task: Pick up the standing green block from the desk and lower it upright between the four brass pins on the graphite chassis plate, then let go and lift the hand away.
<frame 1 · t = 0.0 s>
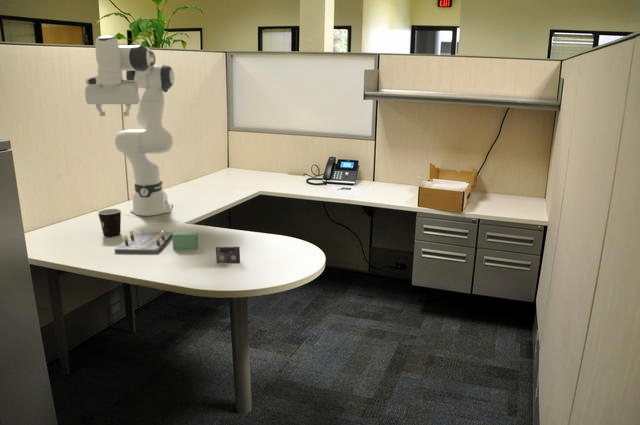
hand: (114, 116, 209), 48 cm above the table, tool pointing down, fingers open, 8 cm apart
green block: (186, 248, 203), on the table
coffee mug: (112, 236, 217), on the table
chassis plate: (145, 244, 207), on the table
mini dv tape: (228, 263, 188), on the table
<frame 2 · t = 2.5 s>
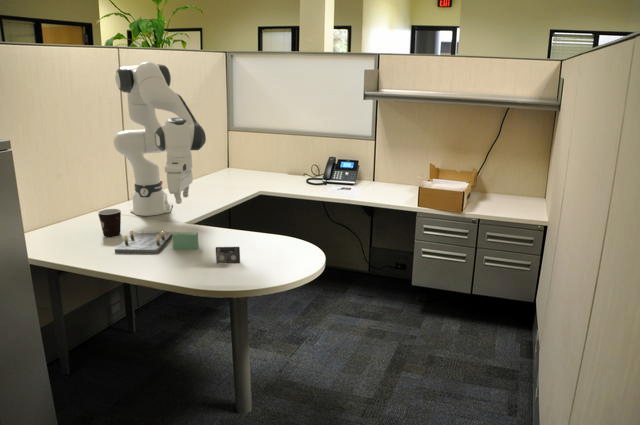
hand: (182, 200, 198), 19 cm above the table, tool pointing down, fingers open, 8 cm apart
nothing on the table moved.
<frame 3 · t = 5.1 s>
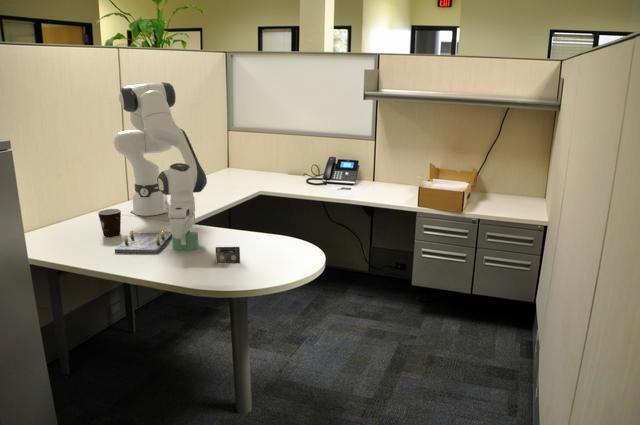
hand: (185, 242, 202), 2 cm above the table, tool pointing down, fingers closed on green block, 3 cm apart
green block: (186, 248, 203), on the table, touching gripper
everything else where it was.
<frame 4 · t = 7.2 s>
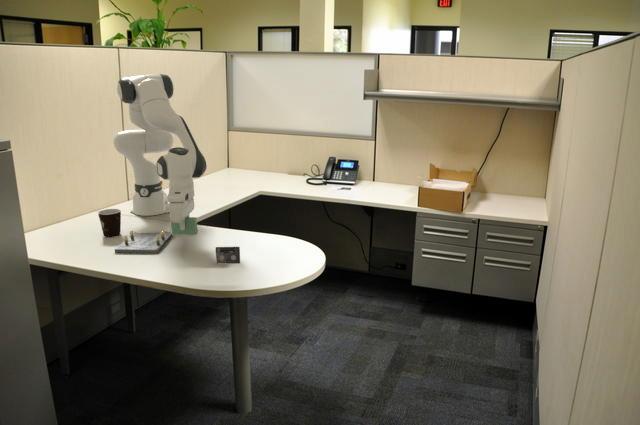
hand: (184, 227, 201), 8 cm above the table, tool pointing down, fingers closed on green block, 3 cm apart
green block: (184, 233, 201), point 6 cm above the table, touching gripper
everything else where it was.
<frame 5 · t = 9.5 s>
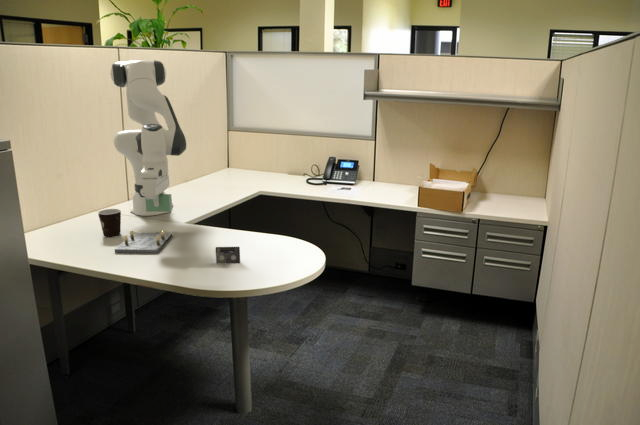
hand: (158, 204, 201), 16 cm above the table, tool pointing down, fingers closed on green block, 3 cm apart
green block: (159, 210, 202), point 14 cm above the table, touching gripper
everything else where it was.
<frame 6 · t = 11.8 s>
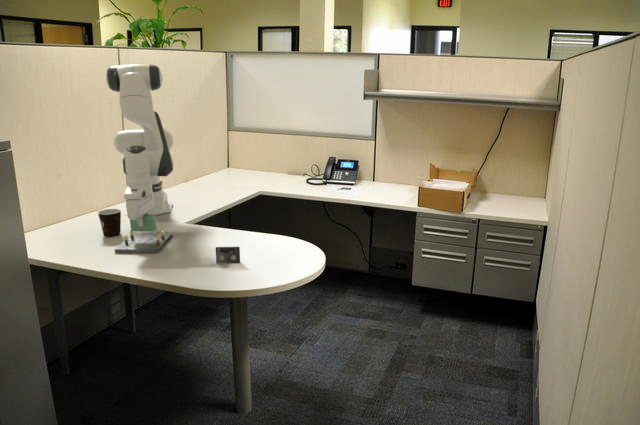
hand: (143, 224, 205), 8 cm above the table, tool pointing down, fingers closed on green block, 3 cm apart
green block: (143, 230, 206), point 6 cm above the table, touching gripper
everything else where it was.
when the fingers open (5 cm above the table, at t = 13.8 s): green block stays where it is, resting on chassis plate.
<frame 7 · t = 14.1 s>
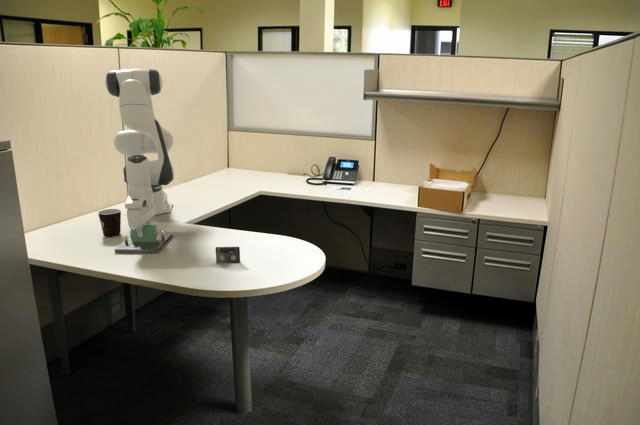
hand: (144, 233, 206), 5 cm above the table, tool pointing down, fingers open, 6 cm apart
green block: (144, 240, 207), point 1 cm above the table, touching chassis plate
everything else where it was.
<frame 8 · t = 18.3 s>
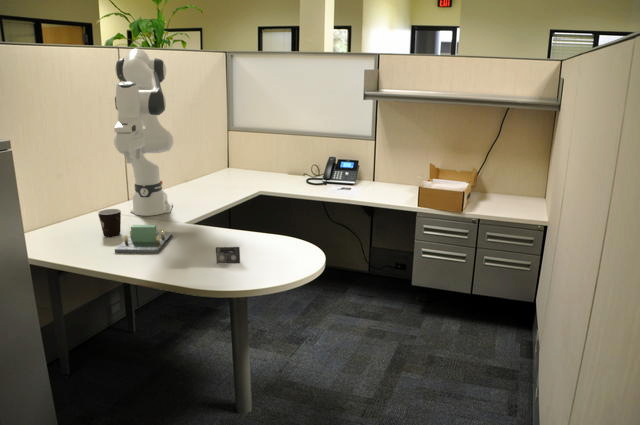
hand: (134, 160, 208), 31 cm above the table, tool pointing down, fingers open, 8 cm apart
nothing on the table moved.
at the end: green block 0.0 cm off-centre on the chassis plate, point 1.5 cm above the chassis plate's base; green block tilted 0°; the gripper is holding nothing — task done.
